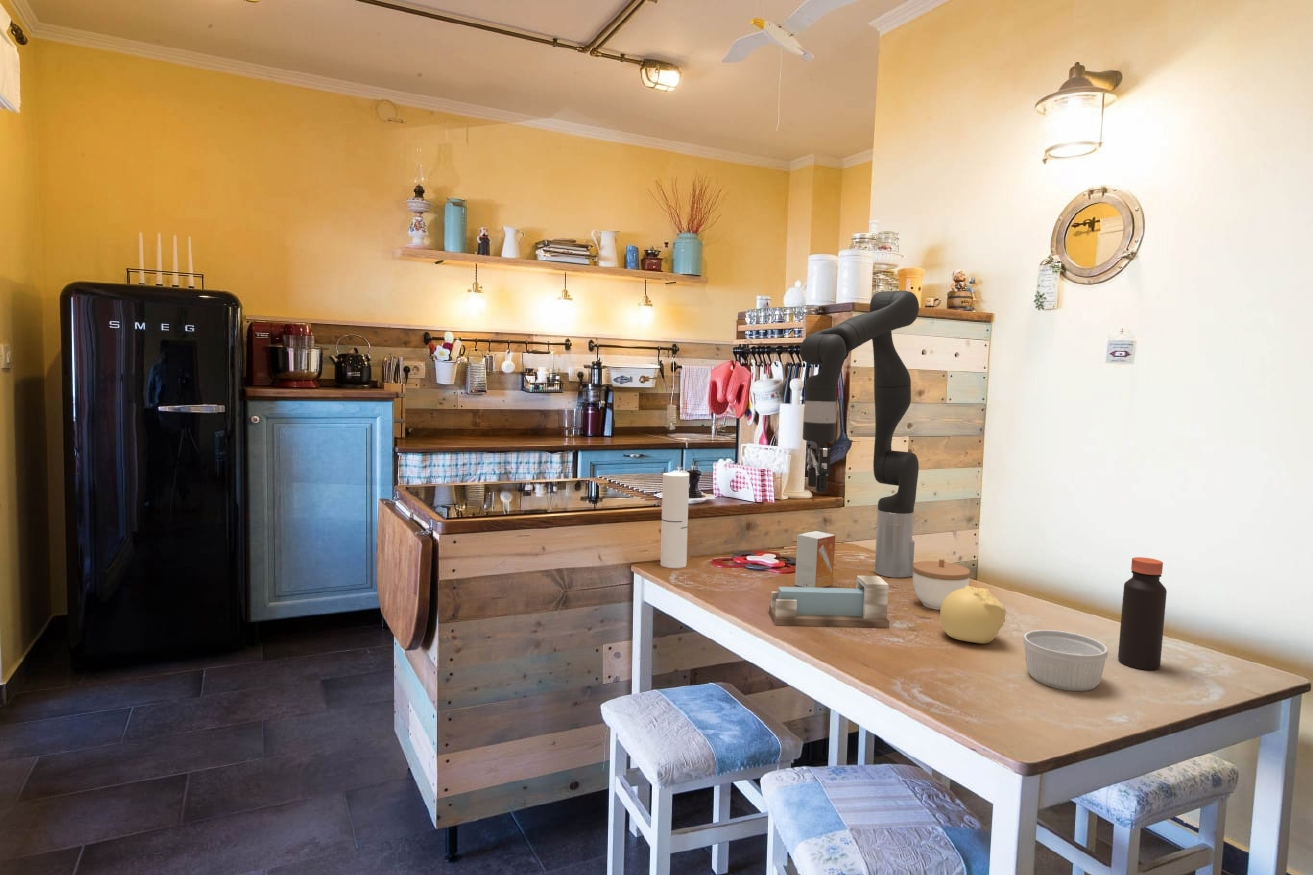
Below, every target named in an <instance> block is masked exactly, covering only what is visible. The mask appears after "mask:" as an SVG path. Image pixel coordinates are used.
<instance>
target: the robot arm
mask: <svg viewBox="0 0 1313 875" xmlns="http://www.w3.org/2000/svg"><path fill="white" fill-rule="evenodd" d="M919 312H920V303H919V300H918V297H917V296H916V294H915V293H914V292H912V291H909V290H889V291H888V290H884V291H876V293H874V294H873V295H872V298H871V299H870V303H869V312H865V313H861V314H858V315H855V316H853V317H850V318H847V319H846V320H843V321H842V322H840V323H838V324H837V325H835V326H833V327H829V328H825V329H822V330H819V331H815V332H813V333H810V334H809V335H807V336H806V337H805V338H804V339H803V340H802V342H801V344H800V346H799V356H800V357H801V359H802V360H803V362H804V363H806V364H809V365H811V366H821V369H820V371H819V373H818V374H814V375H810V376H808V378H807V379H806V382H805V383H806V384H805V396H804V398H805V399H804V400H805V401H804V406H803V417H802V418H803V423H802V440H804V441H806V442H807V444H806V457H805V460H806V461H805V467H806V469H807V471H808V472H807V473H808V474H807V486H808V487H810V488H815V491H816V492H817V493H825V492H827V477H828V476H829V475H830V473H831V451H832V450H831V447H827V443H833V442H835V440H836V433H837V432H836V430H837V411H838V410H837V390H838V389H837V388H838V387H837V386H838V382H839V380H840V379H839V378H840V377H841V372H842V369H843V365H844V363H845V360H846V355H847V353H849V352H852V351H853V350H855V349H857V348H859V347H860V346H862V345H863V344H865V343H867V342H869V341H871V342H872V349H873V351H872V352H873V372H874V374H873V376H874V377H873V378H874V379H873V392H874V393H873V394H874V395H873V396H874V397H873V398H874V411H875V412H874V415H875V416H874V418H875V420H874V421H875V422H874V423H875V428H874V429H875V430H874V431H875V433H874V446H873V447H874V448H873V461H872V464H873V465H872V466H873V470H872V471H873V476H874V479H875V481H876V482H877V483H879V484H883V485H888V486H890V485H891V486H896V487H898V488H897V492H896V493H895V494H893V495H889V496H888V495H887V496H885V497H884V496H883V497H881V498H879V500H878V502H877V516H876V519H877V520H876V537H875V552H874V554H875V555H874V573H876V574H877V575H878V576H884V577H887V578H888V577H889V578H907V577H913V564H914V558H915V540H913V532H914V531H913V530H914V529H913V528H914V510H915V504H916V499H917V498H916V497H917V488H918V479H919V470H920V467H919V466H920V465H919V464H920V463H919V459H918V456H917V455H916V454H915V453H914V452H909V451H901V450H900V451H899V450H892V442H893V437H894V436H893V435H894V433H895V430H896V428H897V426H898V425H899V424H900V422H901V420H902V419H903V417H904V416H905V414H906V413H907V411H908V409H909V407H910V404H911V401H912V380H911V375H910V372H909V370H908V369H907V367H906V364H905V363H904V362H903V360H902V358H901V357H900V355H899V353H898V351H897V350H896V347H895V344H894V340H893V333H892V331H895V330H898V329H901V328H905V327H909V326H911V325H913V324H914V322H915V321H916V319H917V318H918V315H919Z"/></svg>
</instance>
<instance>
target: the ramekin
mask: <svg viewBox="0 0 1313 875" xmlns="http://www.w3.org/2000/svg"><path fill="white" fill-rule="evenodd" d="M1022 641H1023V645H1024V650H1025V651H1024V652H1025V653H1024V654H1025V664H1026V665H1025V666H1026V670H1027V672H1028V674H1029V675H1030V676H1031V677H1032V678H1033V680H1035V681H1037V682H1039V683H1041V684H1043V685H1046V686H1049V687H1052V688H1056V689H1059V690H1060V689H1061V690H1064V691H1074V692H1086V691H1091V690H1093V689H1095V688H1096V687H1098V686H1099V685H1100V683H1101V681H1102V678H1103V672H1104V667H1105V662H1106V660H1107V658H1108V653H1109V652H1108V647H1107V646H1106V645H1105V644H1104V643H1103V642H1102V641H1099V640H1097V639H1095V638H1092V637H1089V636H1087V635H1083V634H1079V633H1074V632H1069V631H1063V630H1056V629H1036V630H1035V629H1034V630H1030V631H1028V632H1026V633H1024V635H1023V640H1022Z"/></svg>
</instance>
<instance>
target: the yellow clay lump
mask: <svg viewBox="0 0 1313 875" xmlns="http://www.w3.org/2000/svg"><path fill="white" fill-rule="evenodd" d="M1006 615H1007V611H1006V608H1005V605H1004V604H1003V603H1001V602H1000V600H999V599H998V598H997V597H996V596H994V594H992V593H991V592H990V591H989V589H987V588H983V587H975V586H970V585H969V586H967V585H966V586H965V588H963V589H958V590H955V591H953V592H951V593H950V594H949V595H948V596H947V597H946V598H945V599H944V601H943V603H942V605H941V609H940V610H939V617H940V618H939V619H940V624H941V626H942V628H943V631H944V632H945V634H946V635H947V636H948V637H951V638H952V639H955V640H958V641H962V642H963V641H964V642H969V643H976V644H989V643H990V642H992V641H993V640H994V639H995V638H997V635H998V634H999V632H1000V630H1001V629H1002V628H1003V626H1004V623H1005V621H1006V620H1005V618H1006Z"/></svg>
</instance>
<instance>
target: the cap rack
mask: <svg viewBox="0 0 1313 875" xmlns="http://www.w3.org/2000/svg"><path fill="white" fill-rule="evenodd" d="M889 586H890V585H889V583H887V582H886V581H885V580H884V579H883V578H882V577H881V576H880V575H857V576H856V589H864V606H863V616H831V615H796V613H797V600H792V599H778V590H777V591H776V590H775V591H773V590H772V591H771V597H770V599H771V600H770V604H769V607H768V613H769V615H770V617H771V618H772V621H773V623H774V625H775V626H789V627H790V626H795V627H796V626H798V627H802V626H803V627H832V626H834V627H835V628H836V627H837V628H844V627H845V628H879V629H880V628H882V629H883V628H884V629H889V628H890V620H889V619H888V601H889V600H888V599H889ZM834 627H833V628H834Z"/></svg>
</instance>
